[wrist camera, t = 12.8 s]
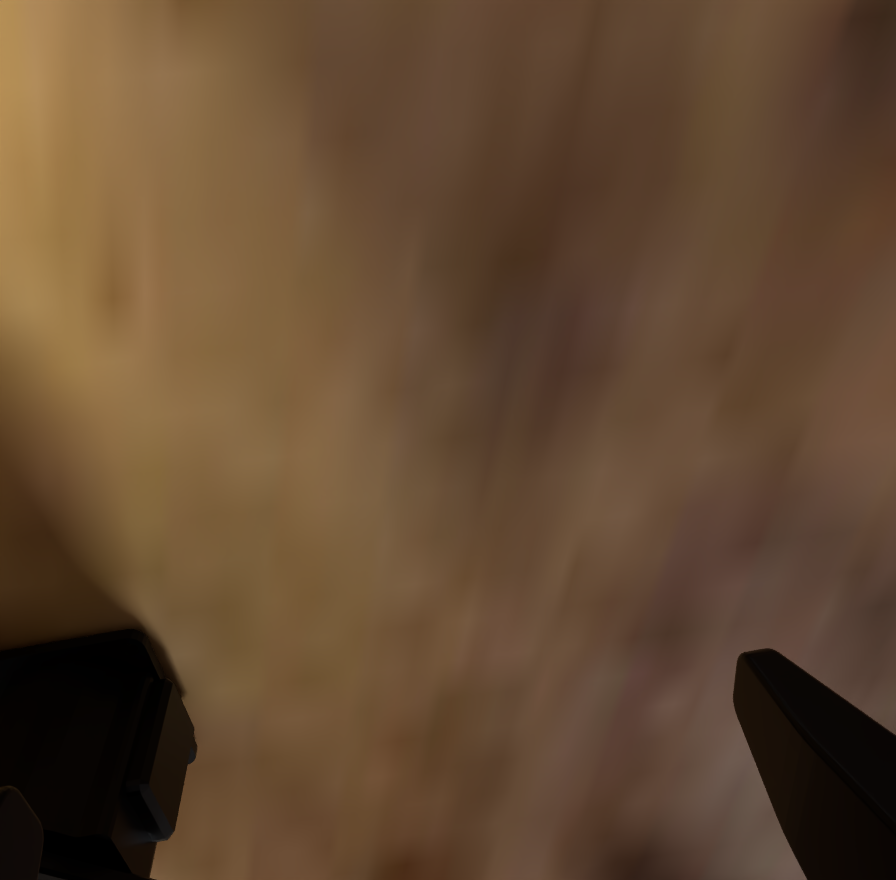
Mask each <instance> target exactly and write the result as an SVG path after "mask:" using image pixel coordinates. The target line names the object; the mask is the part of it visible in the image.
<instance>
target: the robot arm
mask: <svg viewBox="0 0 896 880" xmlns="http://www.w3.org/2000/svg"><path fill="white" fill-rule="evenodd" d="M127 644H133V645H135V646H130V645H127ZM733 702H734V708H735V711H736V714H737V717H738V720H739V722H740V725H741V727H742V730H743V732H744V735H745V738H746V740H747V743H748V745H749V748H750V750H751V753H752V755H753V758H754V760H755V763H756V765H757V768H758V770H759V773H760V776H761V778H762V781H763V783H764V786H765V788H766V791H767V793H768V796H769V798H770V801H771V803H772V806H773V808H774V811H775V814H776V816H777V818H778V821H779V823H780V825H781V828H782V830H783V833H784V835H785V837H786V839H787V841H788V843H789V845H790V847H791V849H792V851H793V853H794V855H795V857H796V859H797V861H798V863H799V865H800V867H801V869H802V870H803V872H804V874H805V876H806V878H807V880H896V735H895V734H893V733H892V732H890V731H889V730H887V729H886V728H885V727H883V726H882V725H880V724H879V723H878V722H876V721H875V720H873V719H872V718H871V717H869V716H868V715H866V714H865V713H864V712H862V711H861V710H859V709H858V708H856V707H855V706H854V705H852V704H851V703H849V702H848V701H847V700H845V699H844V698H842V697H841V696H840V695H838V694H837V693H835V692H834V691H833V690H831V689H830V688H828V687H827V686H825V685H824V684H823V683H821V682H820V681H818V680H817V679H816V678H814V677H813V676H811V675H810V674H809V673H807V672H806V671H804V670H803V669H802V668H800V667H799V666H797V665H796V664H794V663H793V662H792V661H790V660H789V659H787V658H786V657H785V656H783V655H782V654H780V653H779V652H777V651H775V650H773V649H769V648H765V649H759V650H754V651H748V652H744V653H741V654H740V656H739V657H738V660H737V666H736V674H735V683H734V691H733ZM193 734H194V726H193V724H192V722H191V719H190V717H189V715H188V713H187V711H186V708H185V706H184V704H183V702H182V700H181V697H180V695H179V693H178V691H177V689H176V686H175V684H174V683H173V682H172V681H171V680H170V679H168V678H166V676H165V674H164V672H163V670H162V668H161V665H160V663H159V661H158V659H157V657H156V655H155V652H154V650H153V648H152V646H151V644H150V641H149V639H148V637H147V636H146V635H145V634H144V633H143V632H141V631H139V630H134V629H127V630H121V631H116V632H110V633H104V634H98V635H93V636H87V637H81V638H75V639H70V640H64V641H58V642H53V643H47V644H41V645H35V646H30V647H24V648H18V649H12V650H7V651H1V652H0V880H155V879H152V878H150V873H151V868H152V864H153V859H154V854H155V850H156V845H157V842H159V841H165V840H168V839H169V838H170V836H171V835H172V834H173V832H174V831H175V826H176V821H177V816H178V811H179V806H180V801H181V796H182V791H183V785H184V780H185V775H186V770H187V765H188V764H191V763H192V762H193V761H194V760H195V758H196V753H197V744H196V742H195V740H194V737H193Z"/></svg>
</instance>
